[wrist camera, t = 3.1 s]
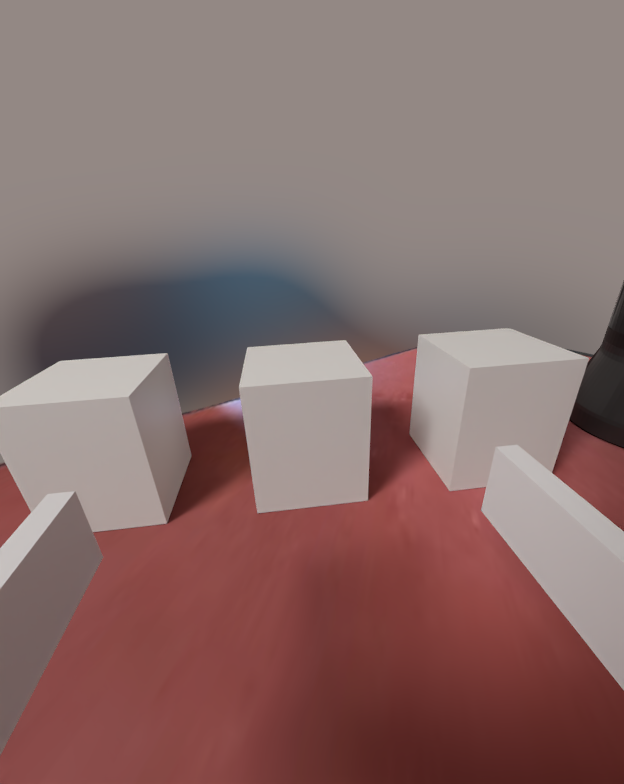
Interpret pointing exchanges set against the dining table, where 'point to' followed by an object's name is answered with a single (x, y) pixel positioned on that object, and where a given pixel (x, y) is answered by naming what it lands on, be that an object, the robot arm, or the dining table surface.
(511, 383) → the matte white cube
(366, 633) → the dining table surface
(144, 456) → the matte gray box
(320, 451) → the tall off-white cuboid
